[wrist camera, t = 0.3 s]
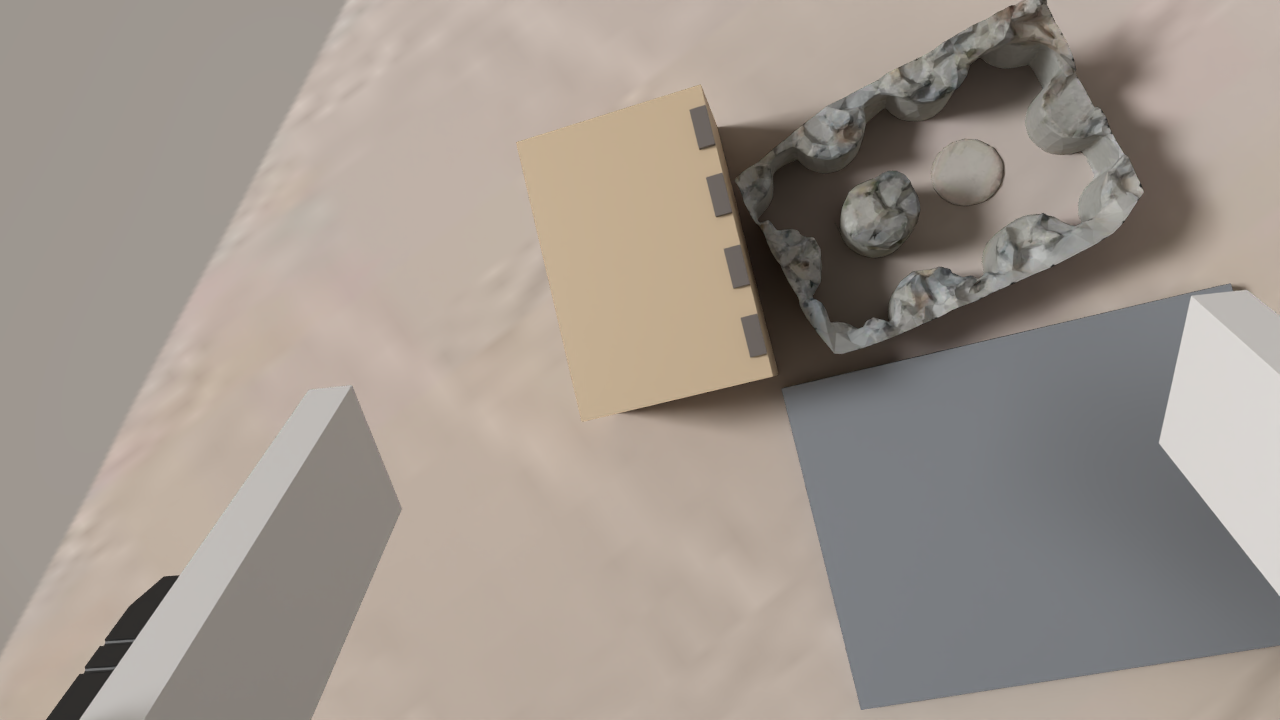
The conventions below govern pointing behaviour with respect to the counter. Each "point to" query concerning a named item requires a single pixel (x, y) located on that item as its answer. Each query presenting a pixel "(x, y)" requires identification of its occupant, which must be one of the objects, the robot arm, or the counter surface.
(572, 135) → the sleeve
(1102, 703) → the counter surface
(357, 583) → the robot arm
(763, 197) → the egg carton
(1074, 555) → the mat
